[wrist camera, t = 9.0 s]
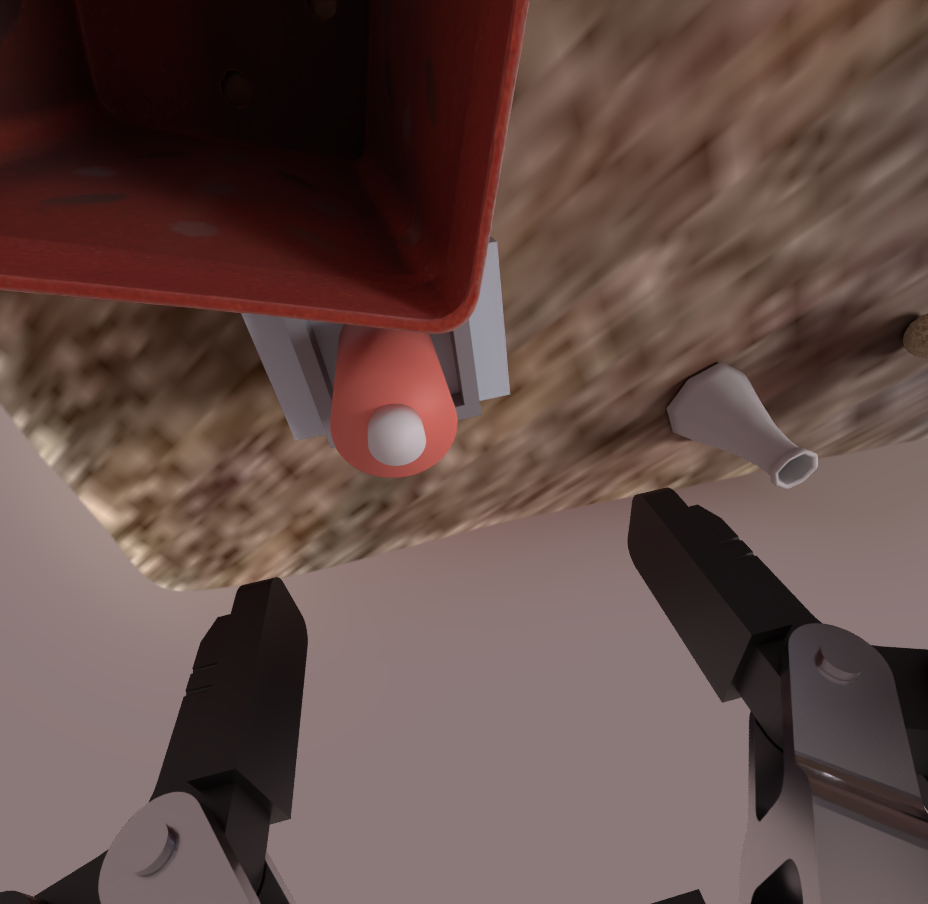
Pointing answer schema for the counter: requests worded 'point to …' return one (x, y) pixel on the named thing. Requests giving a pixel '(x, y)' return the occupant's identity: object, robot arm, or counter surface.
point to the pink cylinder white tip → (390, 402)
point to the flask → (738, 424)
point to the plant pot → (257, 154)
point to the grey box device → (316, 344)
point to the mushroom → (917, 337)
